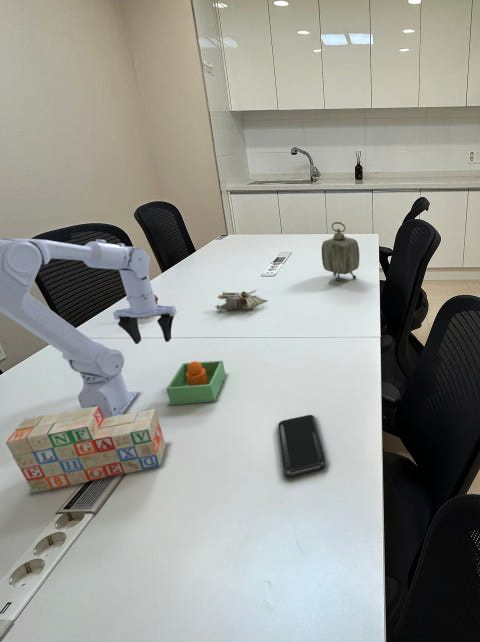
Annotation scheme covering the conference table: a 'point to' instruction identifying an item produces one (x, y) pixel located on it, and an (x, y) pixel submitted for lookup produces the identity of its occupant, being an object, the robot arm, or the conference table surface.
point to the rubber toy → (196, 374)
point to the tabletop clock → (340, 254)
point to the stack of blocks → (85, 446)
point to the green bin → (199, 393)
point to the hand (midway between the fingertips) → (153, 341)
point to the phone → (301, 446)
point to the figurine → (239, 301)
